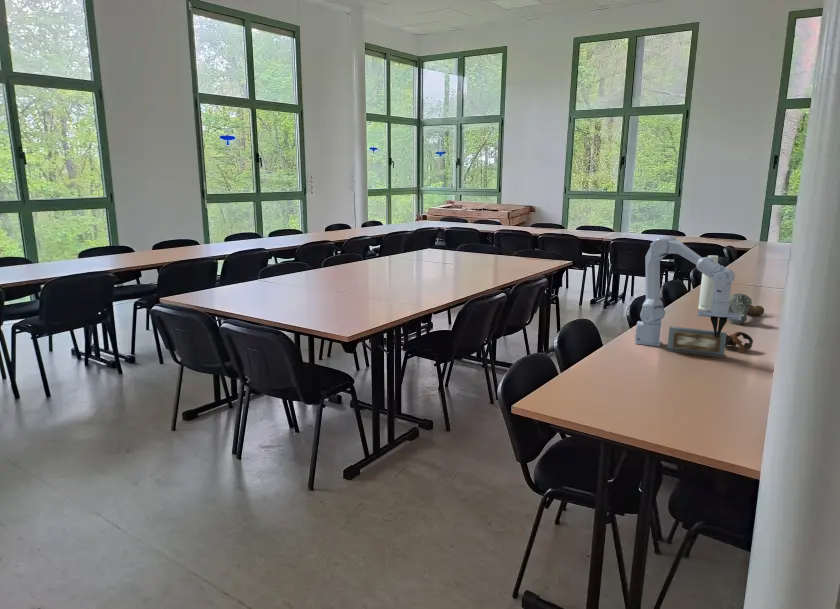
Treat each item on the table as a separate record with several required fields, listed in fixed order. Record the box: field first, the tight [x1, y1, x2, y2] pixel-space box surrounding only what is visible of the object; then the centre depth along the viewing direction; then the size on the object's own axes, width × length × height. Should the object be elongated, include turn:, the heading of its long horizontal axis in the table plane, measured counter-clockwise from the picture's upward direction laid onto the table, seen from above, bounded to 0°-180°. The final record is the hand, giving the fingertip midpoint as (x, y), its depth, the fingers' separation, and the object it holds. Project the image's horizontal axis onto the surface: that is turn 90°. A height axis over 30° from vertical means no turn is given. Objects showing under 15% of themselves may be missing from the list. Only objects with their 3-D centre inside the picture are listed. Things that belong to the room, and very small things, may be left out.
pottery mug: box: [725, 331, 754, 354], centre depth 227 cm, size 12×10×8 cm
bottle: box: [697, 254, 721, 311], centre depth 295 cm, size 8×8×28 cm
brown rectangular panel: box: [673, 332, 721, 352], centre depth 219 cm, size 16×3×6 cm, turn 64°
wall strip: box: [666, 326, 728, 358], centre depth 223 cm, size 20×5×10 cm, turn 64°
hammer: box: [727, 293, 765, 326], centre depth 275 cm, size 15×10×30 cm
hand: (716, 336), depth 215 cm, fingers closed, pressing on brown rectangular panel
